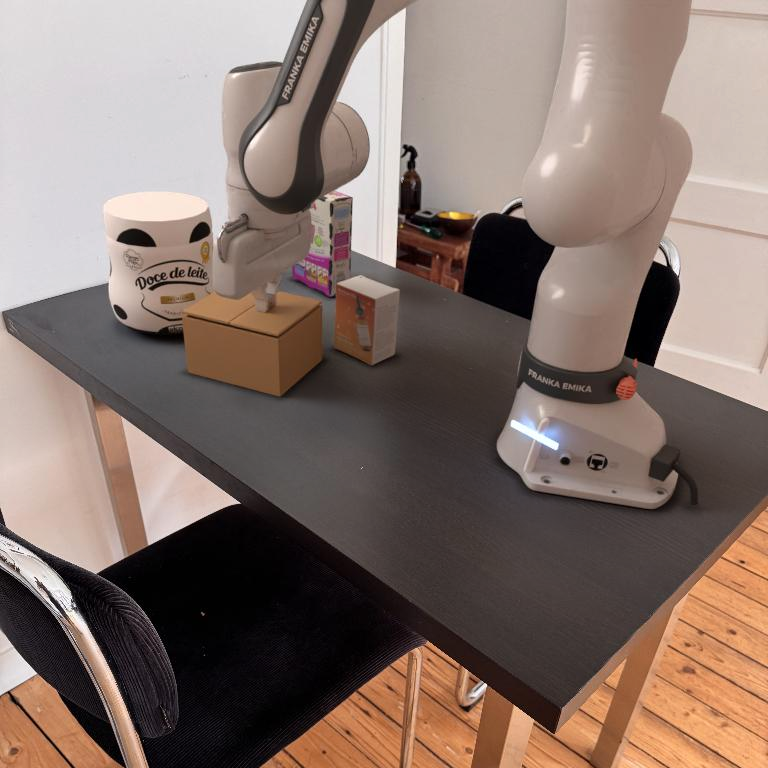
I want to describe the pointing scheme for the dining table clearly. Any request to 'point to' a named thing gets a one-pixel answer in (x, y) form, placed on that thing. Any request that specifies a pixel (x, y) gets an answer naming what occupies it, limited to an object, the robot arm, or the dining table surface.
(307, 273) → the candy bar box
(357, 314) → the small box
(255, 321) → the flap
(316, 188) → the robot arm
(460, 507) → the dining table surface
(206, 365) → the carton
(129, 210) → the doce de leite jar
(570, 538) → the dining table surface
